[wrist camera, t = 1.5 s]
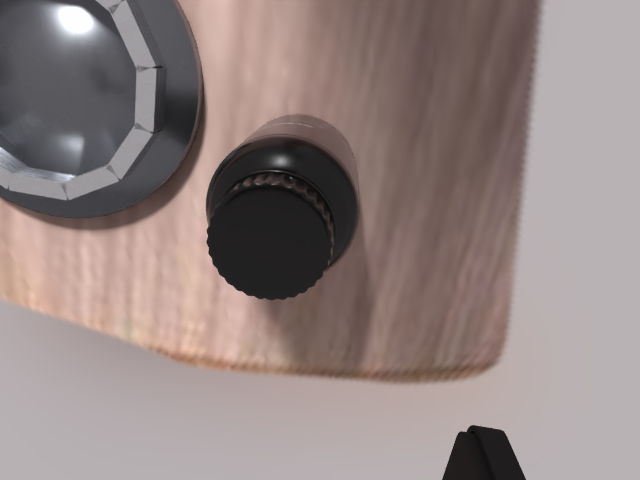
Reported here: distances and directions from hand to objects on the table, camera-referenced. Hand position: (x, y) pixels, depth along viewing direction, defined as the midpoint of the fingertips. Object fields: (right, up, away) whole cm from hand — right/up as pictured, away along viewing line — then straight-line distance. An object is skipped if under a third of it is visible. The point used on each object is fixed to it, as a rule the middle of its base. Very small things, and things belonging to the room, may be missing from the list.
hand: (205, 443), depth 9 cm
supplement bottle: (+1, +8, +20) cm, 22 cm away
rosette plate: (-12, +13, +19) cm, 26 cm away
